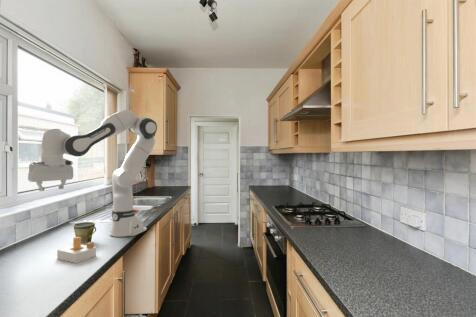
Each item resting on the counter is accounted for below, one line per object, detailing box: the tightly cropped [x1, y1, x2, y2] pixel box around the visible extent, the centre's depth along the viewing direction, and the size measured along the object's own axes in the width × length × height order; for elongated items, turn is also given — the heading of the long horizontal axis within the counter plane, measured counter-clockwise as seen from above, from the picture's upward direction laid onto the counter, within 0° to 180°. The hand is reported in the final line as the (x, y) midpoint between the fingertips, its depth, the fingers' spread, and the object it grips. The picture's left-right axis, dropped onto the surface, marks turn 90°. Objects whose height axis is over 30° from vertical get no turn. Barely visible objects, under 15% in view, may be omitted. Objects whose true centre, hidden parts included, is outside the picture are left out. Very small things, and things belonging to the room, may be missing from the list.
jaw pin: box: [72, 236, 81, 251], centre depth 126 cm, size 3×3×9 cm
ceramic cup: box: [73, 221, 97, 245], centre depth 146 cm, size 13×10×10 cm
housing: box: [56, 241, 97, 264], centre depth 126 cm, size 10×12×6 cm
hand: (51, 189), depth 136 cm, fingers open, 8 cm apart
